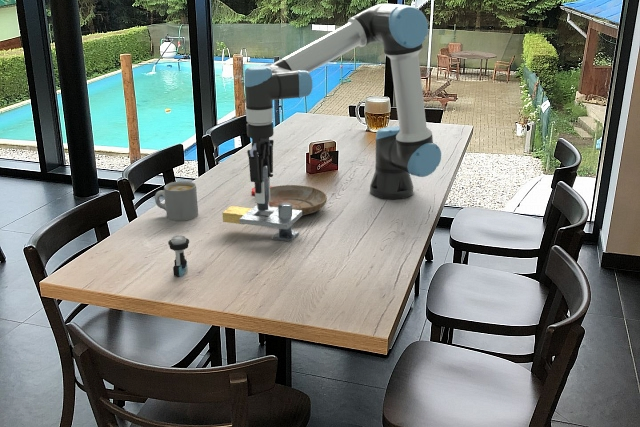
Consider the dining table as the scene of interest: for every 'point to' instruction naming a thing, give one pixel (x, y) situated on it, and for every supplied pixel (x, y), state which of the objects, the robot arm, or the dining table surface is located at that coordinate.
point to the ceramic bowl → (298, 197)
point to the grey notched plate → (267, 219)
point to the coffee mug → (179, 200)
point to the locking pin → (265, 180)
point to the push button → (179, 254)
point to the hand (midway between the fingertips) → (262, 200)
